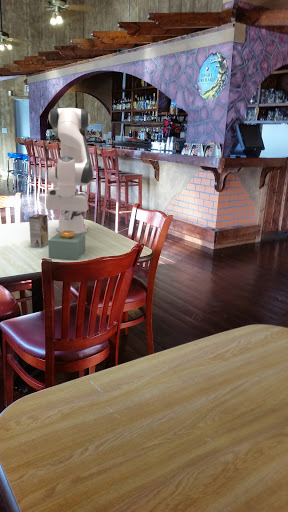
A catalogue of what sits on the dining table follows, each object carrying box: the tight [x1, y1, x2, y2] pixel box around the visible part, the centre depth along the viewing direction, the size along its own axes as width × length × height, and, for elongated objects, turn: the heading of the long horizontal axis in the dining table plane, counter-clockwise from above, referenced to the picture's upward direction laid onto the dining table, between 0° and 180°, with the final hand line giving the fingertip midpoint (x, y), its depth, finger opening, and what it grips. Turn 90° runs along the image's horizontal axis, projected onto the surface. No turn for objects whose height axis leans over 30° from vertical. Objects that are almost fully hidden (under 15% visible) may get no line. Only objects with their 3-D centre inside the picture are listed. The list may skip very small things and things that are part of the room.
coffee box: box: [28, 213, 49, 249], centre depth 221 cm, size 9×6×16 cm
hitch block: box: [48, 231, 86, 261], centre depth 209 cm, size 16×14×9 cm
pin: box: [61, 231, 74, 239], centre depth 208 cm, size 7×7×10 cm
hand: (67, 219), depth 205 cm, fingers closed
